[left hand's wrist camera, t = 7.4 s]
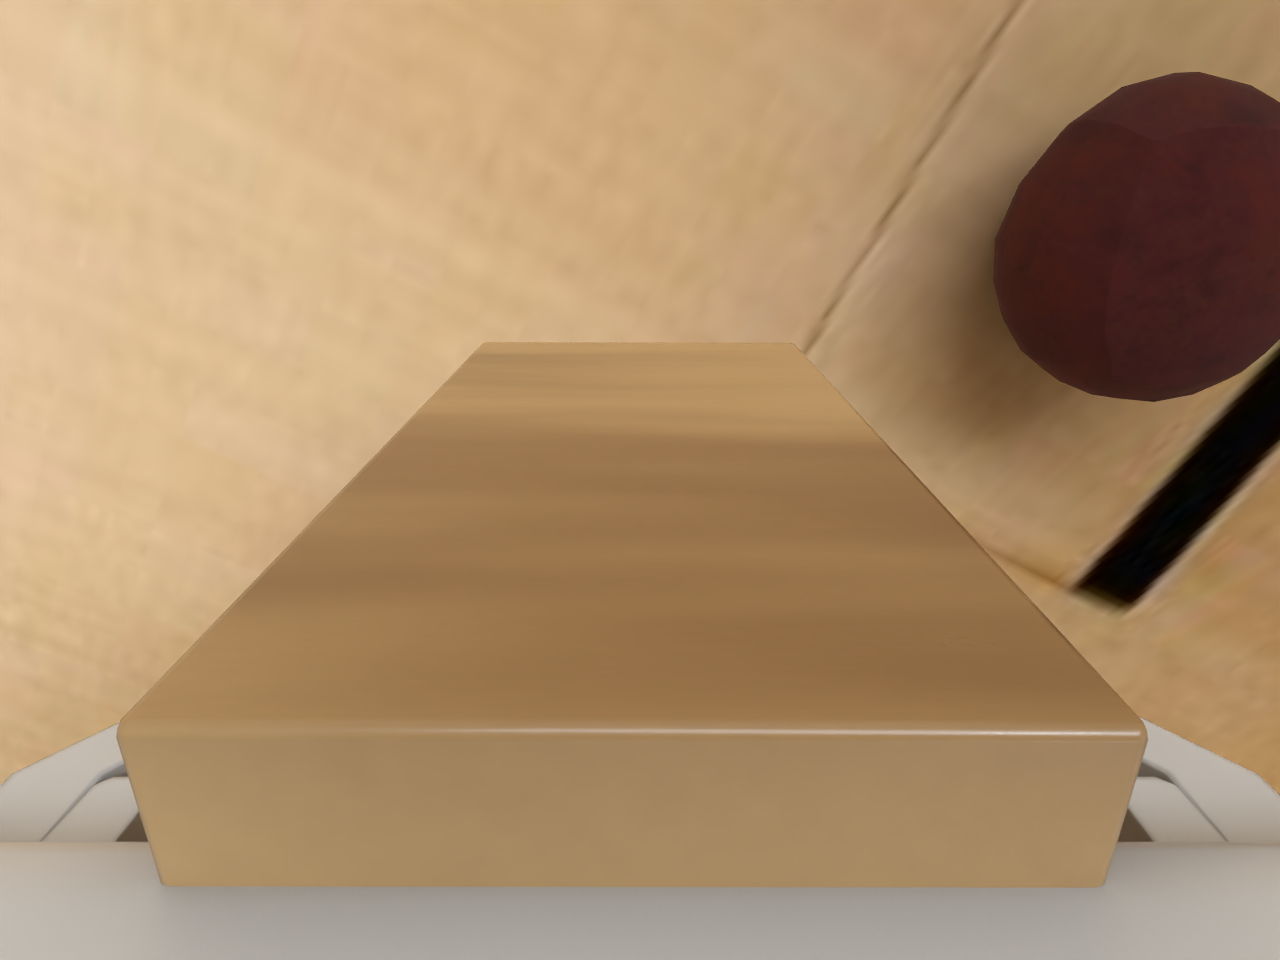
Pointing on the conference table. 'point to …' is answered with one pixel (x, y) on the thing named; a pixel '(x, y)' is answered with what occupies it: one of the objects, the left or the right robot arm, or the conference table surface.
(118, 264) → the conference table surface
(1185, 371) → the dark red ball
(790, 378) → the box
